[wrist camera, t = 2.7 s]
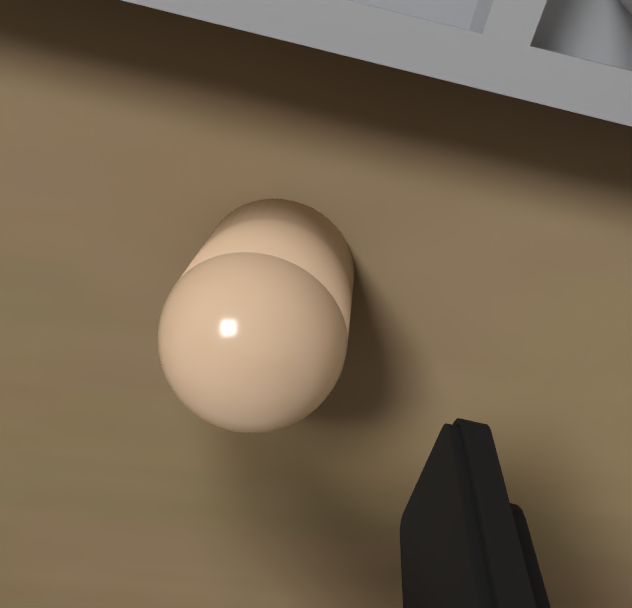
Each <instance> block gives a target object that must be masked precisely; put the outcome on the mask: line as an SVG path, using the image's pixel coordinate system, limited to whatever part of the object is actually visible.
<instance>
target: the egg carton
mask: <svg viewBox="0 0 632 608" xmlns="http://www.w3.org/2000/svg"><path fill="white" fill-rule="evenodd" d="M122 1H126V2H130V3H134V4H138V5H142V6H146V7H150V8H154V9H159V10H163V11H167V12H171V13H175V14H179V15H183V16H187V17H191V18H195V19H199V20H203V21H207V22H211V23H215V24H219V25H223V26H227V27H231V28H235V29H239V30H243V31H247V32H251V33H256V34H260V35H264V36H268V37H272V38H276V39H280V40H284V41H288V42H292V43H296V44H300V45H304V46H308V47H312V48H316V49H320V50H324V51H328V52H332V53H336V54H340V55H344V56H349V57H353V58H357V59H361V60H365V61H369V62H373V63H377V64H381V65H385V66H389V67H393V68H397V69H401V70H405V71H409V72H413V73H417V74H421V75H425V76H429V77H433V78H437V79H441V80H446V81H450V82H454V83H458V84H462V85H466V86H470V87H474V88H478V89H482V90H486V91H490V92H494V93H498V94H502V95H506V96H510V97H514V98H518V99H522V100H526V101H530V102H534V103H539V104H543V105H547V106H551V107H555V108H559V109H563V110H567V111H571V112H575V113H579V114H583V115H587V116H591V117H595V118H599V119H603V120H607V121H611V122H615V123H619V124H623V125H627V126H632V0H122Z"/></svg>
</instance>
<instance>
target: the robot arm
mask: <svg viewBox="0 0 632 608" xmlns="http://www.w3.org/2000/svg"><path fill="white" fill-rule="evenodd" d="M400 547H401V569H402V590H403V608H550V604H549V601H548V597H547V594H546V590H545V587H544V583H543V579H542V576H541V572H540V569H539V565H538V562H537V558H536V554H535V551H534V547H533V544H532V540H531V537H530V533H529V529H528V526H527V522H526V519H525V516H524V514H523V511H522V510H521V508H520V507H519V506H518V505H515V504H511V503H510V502H509V498H508V495H507V491H506V487H505V483H504V479H503V475H502V471H501V467H500V464H499V460H498V456H497V452H496V448H495V444H494V440H493V436H492V433H491V429H490V427H489V426H488V425H487V424H482V423H478V422H473V421H469V420H464V419H460V418H458V419H456V420H455V421H454V423H453V425H451V424H444V425H443V427H442V429H441V431H440V433H439V436H438V438H437V440H436V442H435V444H434V447H433V449H432V451H431V453H430V455H429V458H428V460H427V462H426V464H425V466H424V469H423V471H422V473H421V475H420V478H419V480H418V482H417V484H416V486H415V489H414V491H413V493H412V495H411V497H410V500H409V502H408V504H407V506H406V508H405V511H404V513H403V516H402V519H401V525H400Z"/></svg>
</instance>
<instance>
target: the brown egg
mask: <svg viewBox="0 0 632 608" xmlns="http://www.w3.org/2000/svg"><path fill="white" fill-rule="evenodd" d="M353 283H354V262H353V258H352V254H351V251H350V248H349V246H348V244H347V242H346V240H345V238H344V236H343V235H342V234H341V232H340V231H339V230H338V228H337V227H336V226H335V225H334V224H333V223H332V222H331V221H330V220H329V219H328V218H326V217H325V216H324V215H323V214H321V213H319V212H318V211H316V210H315V209H313V208H311V207H308V206H306V205H304V204H301V203H298V202H294V201H289V200H284V199H265V200H259V201H254V202H251V203H248V204H245V205H243V206H241V207H239V208H237V209H235V210H234V211H233V212H231V213H230V214H228V215H227V216H226V217H225V218H224V219H223V220H222V221H221V222H220V223H219V225H218V226H217V227H216V229H215V230H214V231H213V233H212V234H211V236H210V237H209V238H208V240H207V241H206V243H205V244H204V245H203V247H202V248H201V250H200V251H199V252H198V254H197V255H196V257H195V258H194V259H193V261H192V262H191V263H190V265H189V266H188V268H187V269H186V270H185V272H184V273H183V275H182V276H181V277H180V279H179V280H178V282H177V283H176V284H175V286H174V287H173V289H172V291H171V293H170V294H169V296H168V298H167V300H166V302H165V305H164V307H163V310H162V314H161V317H160V322H159V328H158V351H159V357H160V362H161V365H162V369H163V372H164V374H165V377H166V379H167V381H168V383H169V385H170V387H171V388H172V390H173V391H174V393H175V395H176V396H177V397H178V398H179V400H180V401H181V402H182V403H183V404H184V405H185V406H186V407H187V408H188V409H189V410H190V411H192V412H193V413H194V414H195V415H197V416H198V417H200V418H201V419H203V420H204V421H206V422H208V423H210V424H212V425H214V426H217V427H219V428H222V429H225V430H229V431H233V432H239V433H264V432H271V431H275V430H279V429H282V428H285V427H287V426H290V425H292V424H294V423H296V422H298V421H300V420H302V419H303V418H305V417H306V416H308V415H309V414H310V413H312V412H313V411H314V410H315V409H316V408H317V407H318V406H320V405H321V404H322V402H323V401H324V400H325V399H326V397H327V396H328V395H329V394H330V392H331V391H332V390H333V388H334V386H335V384H336V383H337V381H338V379H339V376H340V374H341V371H342V369H343V366H344V362H345V357H346V352H347V345H348V335H349V325H350V314H351V304H352V294H353Z"/></svg>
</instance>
